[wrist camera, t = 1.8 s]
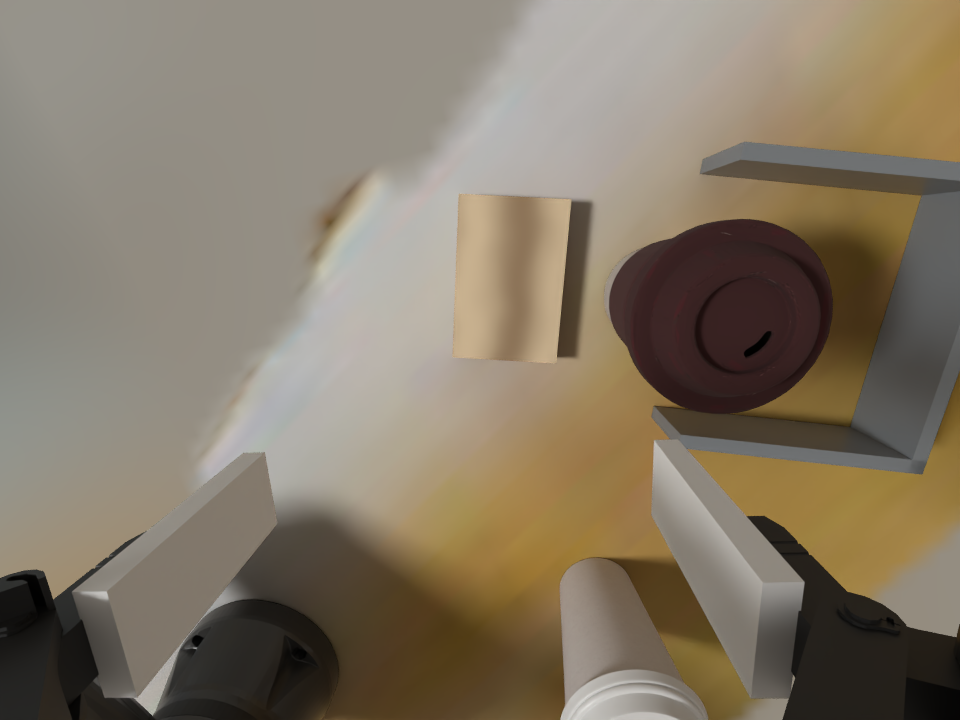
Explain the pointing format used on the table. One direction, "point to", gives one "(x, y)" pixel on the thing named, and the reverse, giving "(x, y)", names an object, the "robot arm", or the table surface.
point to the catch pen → (903, 335)
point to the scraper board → (509, 277)
